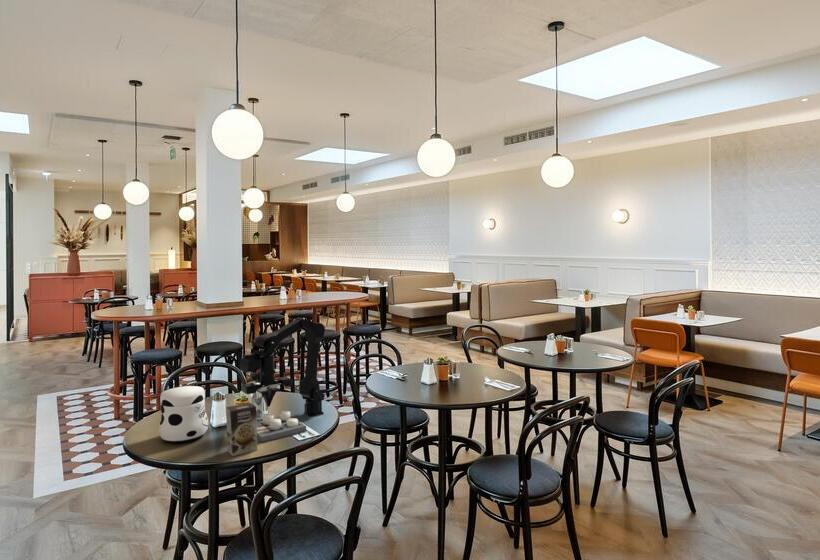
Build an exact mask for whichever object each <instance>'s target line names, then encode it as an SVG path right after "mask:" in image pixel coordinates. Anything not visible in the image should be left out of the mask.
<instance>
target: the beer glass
mask: <svg viewBox="0 0 820 560" xmlns="http://www.w3.org/2000/svg"><path fill="white" fill-rule="evenodd" d="M248 383H253V384H255V385H257V384H260V383H255V380H254V381H250V382H248ZM247 399H248V400H249V401H248V403H251V404H253V405H255V406H256V420H257V421H259V420H263V417H262V416H263V415H265V412H264V406H265V405H264V403H265V400H264V398H263V396H262V394H261V393H259V392H258V391H256V392H255V393H252V394H247Z"/></svg>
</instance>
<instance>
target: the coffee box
mask: <svg viewBox="0 0 820 560" xmlns="http://www.w3.org/2000/svg"><path fill="white" fill-rule="evenodd" d="M225 413H226V415H225V417H226V449H227V452H228V453H229V454H230V455H231V457H235V456H239V455H244V454H247V453H252V452H255V451H258V440H257V422H258V420H256V406H255V405H253V404H251V403H249V402H246V403H242V404H238V405H237V404H236V405H232V406H231V405H230V406H226V407H225Z"/></svg>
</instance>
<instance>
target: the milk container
mask: <svg viewBox="0 0 820 560" xmlns="http://www.w3.org/2000/svg"><path fill="white" fill-rule="evenodd" d="M204 389H205V388H203V387H202V386H198V385H196V386H195V385H187V386H185V385H184V386H177V387H174V388H169V389H167V390H163V391H162V392H161V393H160V397H159V399H160V401H159V403H160V421H159V425H158V432H159V435H160V438H161V439H162V440H163V441H165V442H168V443H185V442H190V441H193V440H197V439H199V438H201V437H203V436H204V435H205V434H206V433H207V432H208V428H209V417H208V415H207V411H206V400H205V399H206V398H205V390H204Z"/></svg>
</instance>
